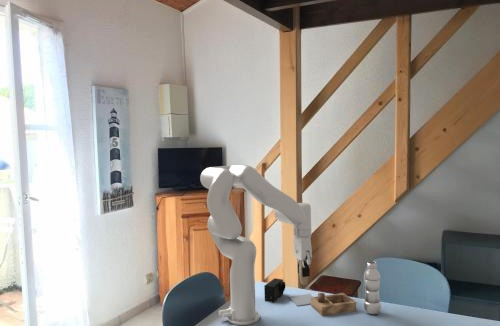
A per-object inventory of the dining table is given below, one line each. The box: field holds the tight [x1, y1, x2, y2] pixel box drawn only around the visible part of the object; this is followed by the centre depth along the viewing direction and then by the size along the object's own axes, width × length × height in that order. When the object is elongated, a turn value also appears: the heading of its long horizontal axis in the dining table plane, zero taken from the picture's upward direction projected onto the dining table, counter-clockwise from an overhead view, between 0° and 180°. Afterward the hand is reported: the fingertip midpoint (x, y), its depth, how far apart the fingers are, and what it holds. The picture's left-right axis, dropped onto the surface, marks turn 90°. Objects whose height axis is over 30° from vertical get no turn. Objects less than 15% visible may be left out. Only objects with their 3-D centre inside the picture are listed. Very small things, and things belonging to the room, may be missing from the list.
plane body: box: [310, 292, 357, 317], centre depth 163 cm, size 15×10×6 cm
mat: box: [288, 293, 314, 307], centre depth 172 cm, size 10×10×1 cm
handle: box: [296, 250, 309, 286], centre depth 172 cm, size 5×6×15 cm
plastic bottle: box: [363, 260, 382, 315], centre depth 157 cm, size 6×7×20 cm
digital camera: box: [263, 278, 286, 303], centre depth 175 cm, size 10×5×7 cm, turn 151°
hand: (303, 274), depth 172 cm, fingers closed on handle, 4 cm apart
